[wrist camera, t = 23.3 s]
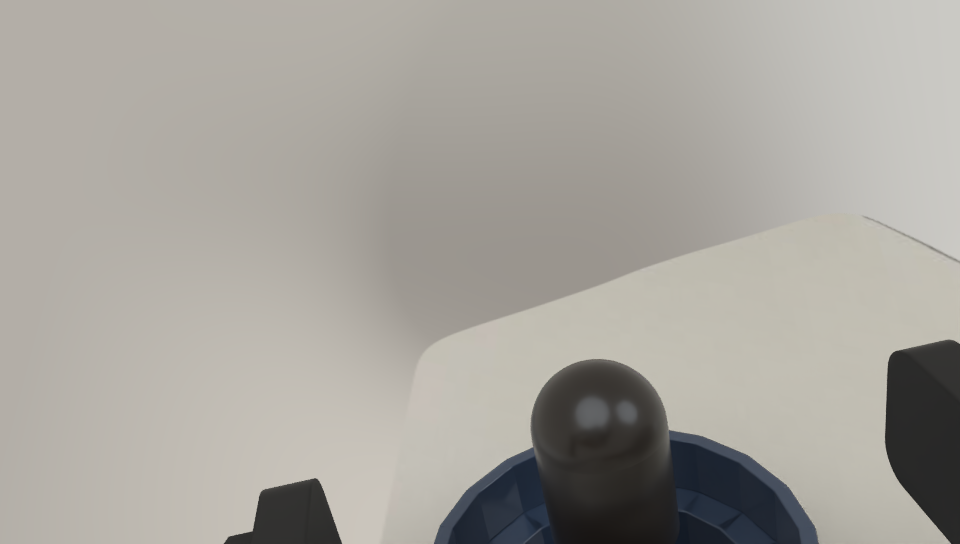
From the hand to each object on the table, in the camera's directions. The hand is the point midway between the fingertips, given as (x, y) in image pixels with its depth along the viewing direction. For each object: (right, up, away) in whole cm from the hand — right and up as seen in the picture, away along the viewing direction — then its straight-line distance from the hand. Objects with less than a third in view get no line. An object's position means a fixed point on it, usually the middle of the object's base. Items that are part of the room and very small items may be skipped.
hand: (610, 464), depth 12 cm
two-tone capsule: (+4, -12, +22) cm, 25 cm away
